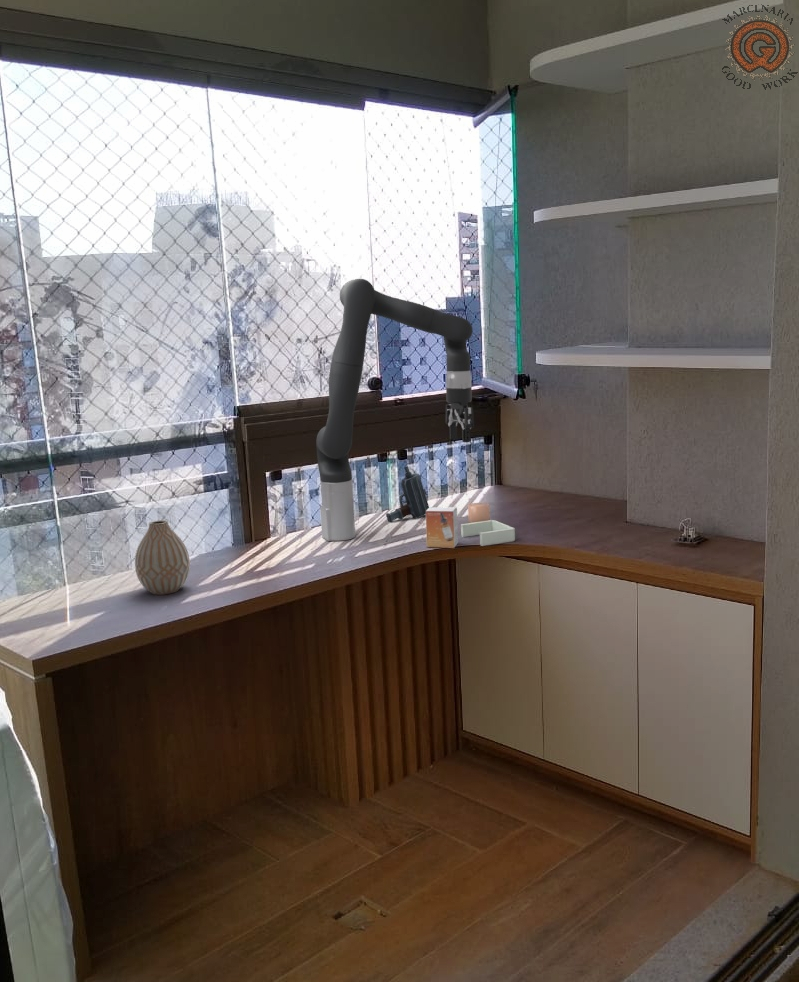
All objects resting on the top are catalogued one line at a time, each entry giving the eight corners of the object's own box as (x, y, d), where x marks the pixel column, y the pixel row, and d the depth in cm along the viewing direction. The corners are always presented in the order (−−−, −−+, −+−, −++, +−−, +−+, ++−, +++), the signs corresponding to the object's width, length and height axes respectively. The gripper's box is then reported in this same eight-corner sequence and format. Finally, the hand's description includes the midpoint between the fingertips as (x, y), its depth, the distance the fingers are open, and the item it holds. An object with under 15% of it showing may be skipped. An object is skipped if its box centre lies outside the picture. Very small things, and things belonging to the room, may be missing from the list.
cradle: (482, 545, 263) (481, 533, 262) (461, 536, 275) (460, 524, 275) (516, 540, 267) (515, 528, 266) (493, 531, 279) (493, 519, 278)
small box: (426, 547, 264) (424, 510, 262) (430, 542, 270) (429, 506, 268) (454, 548, 262) (453, 510, 260) (458, 543, 268) (457, 506, 266)
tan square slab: (474, 531, 280) (473, 508, 279) (465, 527, 286) (464, 504, 285) (494, 528, 282) (493, 505, 281) (484, 524, 288) (483, 501, 287)
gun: (374, 479, 295) (414, 461, 301) (389, 528, 300) (428, 509, 306) (378, 480, 293) (418, 462, 299) (393, 529, 298) (432, 510, 304)
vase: (128, 592, 235) (120, 523, 232) (174, 580, 244) (167, 513, 241) (155, 602, 226) (148, 530, 223) (202, 589, 235) (196, 520, 231)
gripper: (437, 385, 287) (438, 438, 290) (458, 388, 274) (459, 444, 277) (459, 384, 290) (460, 437, 293) (481, 386, 277) (482, 442, 280)
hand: (459, 440), depth 285 cm, fingers open, 8 cm apart
